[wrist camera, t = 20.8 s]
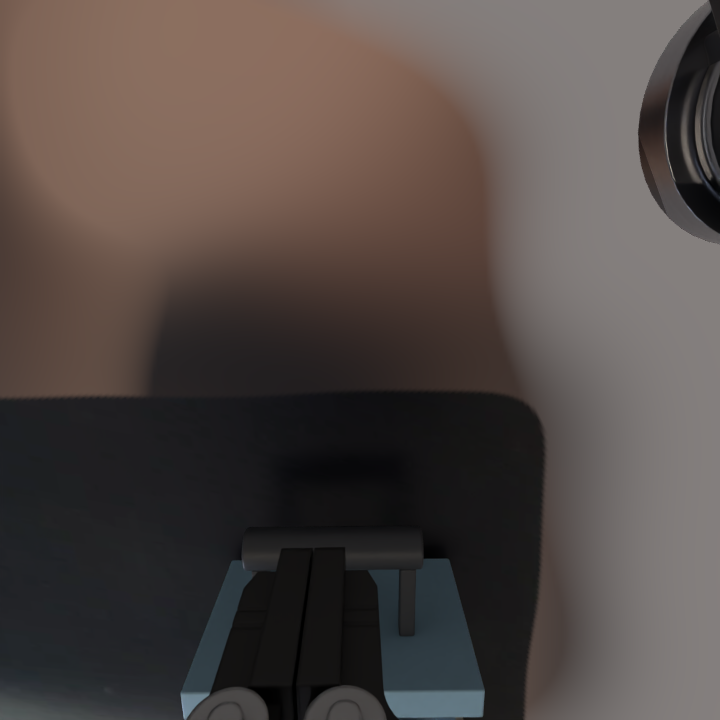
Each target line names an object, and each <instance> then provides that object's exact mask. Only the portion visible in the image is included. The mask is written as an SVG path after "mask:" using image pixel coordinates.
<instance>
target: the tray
mask: <svg viewBox="0 0 720 720" xmlns="http://www.w3.org/2000/svg"><path fill="white" fill-rule="evenodd" d="M318 547H345V554H346V570H368V572H369V573H370V575H371V576H372V578H373V580H374V581H375V583H376V585H377V587H378V604H379V621H380V638H381V655H382V672H383V688H384V695H385V698H386V701H387V703H388V705H389V707H390V709H391V710H392V712H393V713H394V715H395V716H396V717H397V718H398V719H399V720H456V718H455V717H482V716H483V707H484V694H485V690H484V686H483V682H482V679H481V675H480V671H479V668H478V664H477V660H476V657H475V653H474V649H473V646H472V642H471V638H470V634H469V631H468V627H467V623H466V620H465V616H464V612H463V609H462V605H461V601H460V598H459V594H458V590H457V587H456V583H455V579H454V575H453V572H452V568H451V564H450V561H449V559H424V549H423V536H422V531H421V528H420V526H335V527H249V528H247V529H246V531H245V534H244V537H243V542H242V560H234V561H232V562H231V564H230V567H229V570H228V572H227V575H226V577H225V580H224V582H223V585H222V588H221V590H220V593H219V595H218V598H217V601H216V603H215V606H214V608H213V611H212V613H211V616H210V619H209V621H208V624H207V626H206V629H205V632H204V634H203V637H202V639H201V642H200V644H199V647H198V650H197V652H196V655H195V657H194V660H193V663H192V665H191V668H190V670H189V673H188V675H187V678H186V681H185V683H184V686H183V688H182V691H181V700H182V707H183V715H184V719H187V717H188V716H189V714H190V713H191V711H192V710H193V709H194V708H195V707H196V706H197V704H198V703H200V702H201V701H202V700H203V699H204V698H206V697H207V696H209V694H210V692H211V689H212V686H213V683H214V679H215V676H216V673H217V670H218V667H219V664H220V661H221V658H222V654H223V651H224V648H225V645H226V642H227V639H228V636H229V632H230V629H231V628H232V623H233V620H234V617H235V614H236V611H237V607H238V604H239V601H240V598H241V595H242V592H243V588H244V587H245V586H246V585H247V584H248V583H249V581H250V580H251V579H252V578H253V577H254V576H255V574H256V573H257V572H275V571H276V568H277V564H278V560H279V556H280V552H281V549H282V548H313V553H314V549H315V548H318Z"/></svg>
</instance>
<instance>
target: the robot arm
mask: <svg viewBox="0 0 720 720" xmlns="http://www.w3.org/2000/svg"><path fill="white" fill-rule="evenodd" d="M709 3H710V6H711V9H712V13H713V16H714V19H715V23H716V26H717V29H718V30H716V31H714V32H712V33H711V34H709V35H708V36H707V37H706V38H705V40H704V47H705V50H706V53H707V56H708V64H709V68H708V70H707V73H706V75H705V78H704V80H703V83H702V86H701V90H700V93H699V97H698V102H697V107H696V116H695V139H696V146H697V152H698V155H699V159H700V162H701V165H702V167H703V170H704V172H705V174H706V176H707V178H708V180H709V181H710V183H711V184H712V186H713V187H714V188H715V189H716V191H717V192H718V193H719V194H720V0H709ZM186 720H399V719H398V718H397V717H396V716H395V715H394V713H393V712H392V710H391V709H390V707H389V705H388V703H387V701H386V698H385V695H384V688H383V672H382V655H381V638H380V621H379V604H378V587H377V585H376V583H375V581H374V580H373V578H372V576H371V575H370V573H369V572H368V570H346V554H345V547H318V548H315V549H314V553H313V548H282V549H281V552H280V556H279V560H278V564H277V568H276V571H275V572H257V573H256V574H255V576H254V577H253V578H252V579H251V580H250V581H249V583H248V584H247V585H246V586H245V587H244V588H243V592H242V595H241V598H240V601H239V604H238V607H237V611H236V614H235V617H234V620H233V623H232V628H231V629H230V632H229V636H228V639H227V642H226V645H225V648H224V651H223V654H222V658H221V661H220V664H219V667H218V670H217V673H216V676H215V679H214V683H213V686H212V689H211V692H210V694H209V696H207V697H206V698H204V699H203V700H202V701H201V702H200V703H198V704H197V706H196V707H195V708H194V709H193V710H192V711H191V713H190V714H189V716H188V717H187V719H186Z"/></svg>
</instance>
